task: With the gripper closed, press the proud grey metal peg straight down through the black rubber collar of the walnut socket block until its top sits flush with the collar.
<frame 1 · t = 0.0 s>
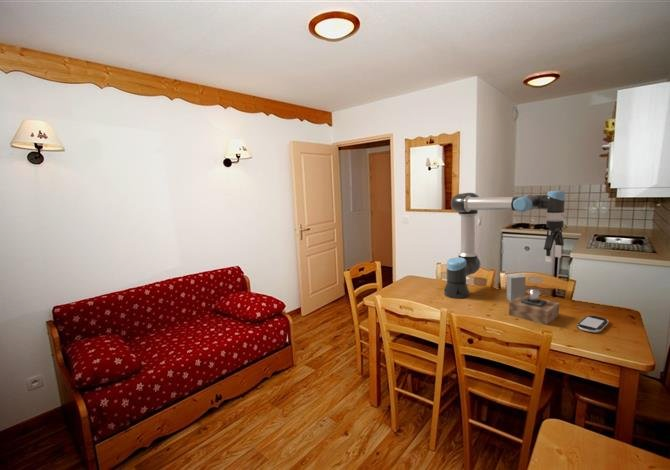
hand: (553, 259, 171), 28 cm above the table, fingers open, 13 cm apart
socket block: (533, 315, 169), on the table
peg: (534, 297, 167), point 10 cm above the table, slide at 6.0 cm
gaming console: (592, 326, 153), on the table
skincare box: (515, 300, 190), on the table
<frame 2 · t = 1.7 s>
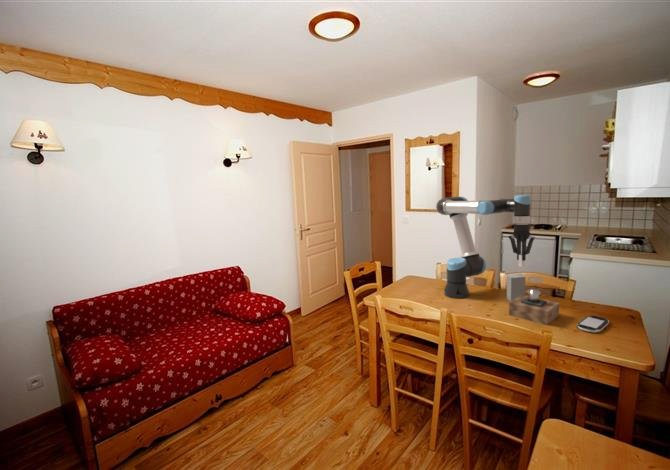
hand: (521, 266, 175), 24 cm above the table, fingers closed
nothing on the table moved.
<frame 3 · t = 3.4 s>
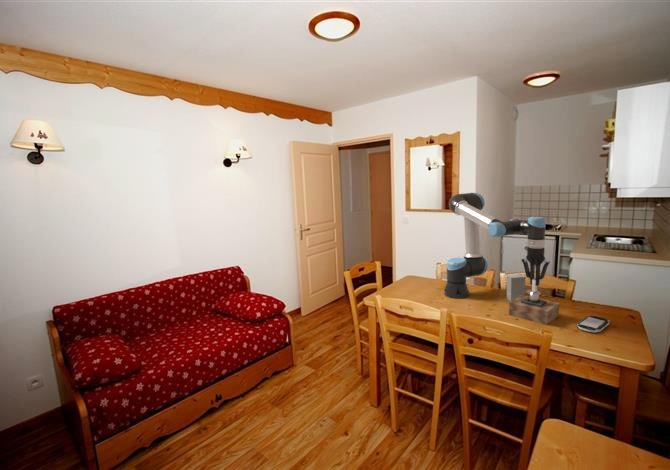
hand: (534, 291, 166), 13 cm above the table, fingers closed
peg: (534, 298, 167), point 9 cm above the table, slide at 5.2 cm, touching gripper
everything else where it was.
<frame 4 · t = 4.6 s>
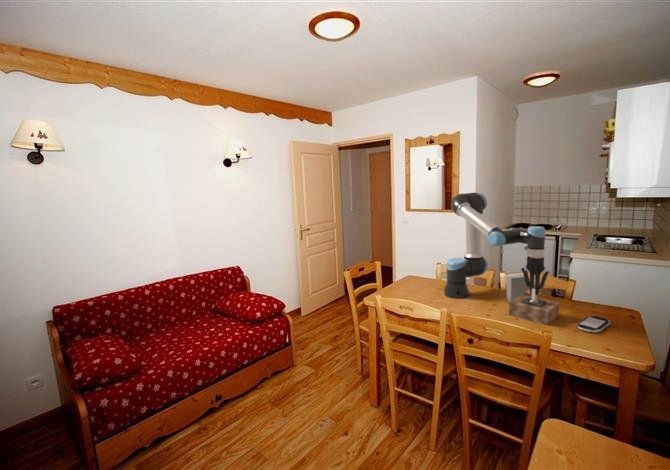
hand: (534, 300, 167), 8 cm above the table, fingers closed
peg: (533, 307, 168), point 4 cm above the table, slide at 0.2 cm, touching gripper
everything else where it was.
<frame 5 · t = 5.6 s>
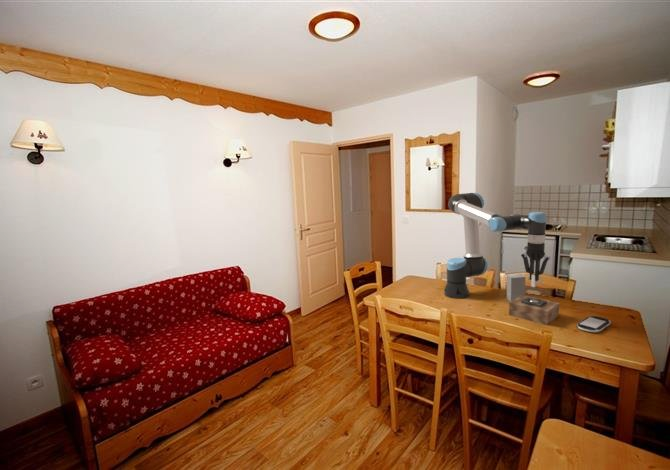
hand: (533, 286, 167), 16 cm above the table, fingers closed
peg: (533, 307, 168), point 4 cm above the table, slide at 0.2 cm
everything else where it was.
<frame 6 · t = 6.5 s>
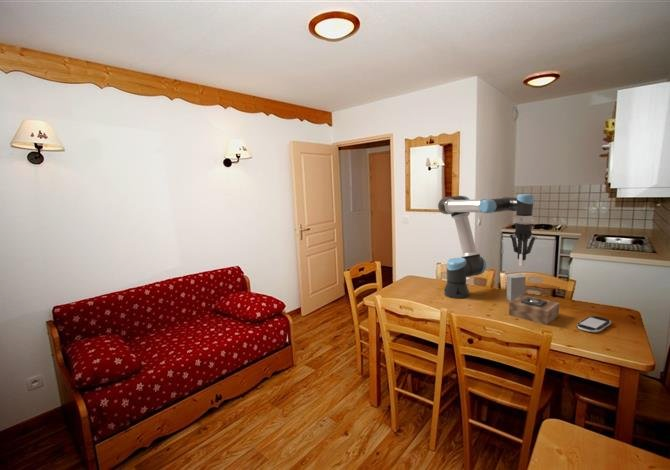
hand: (521, 265, 175), 25 cm above the table, fingers closed
nothing on the table moved.
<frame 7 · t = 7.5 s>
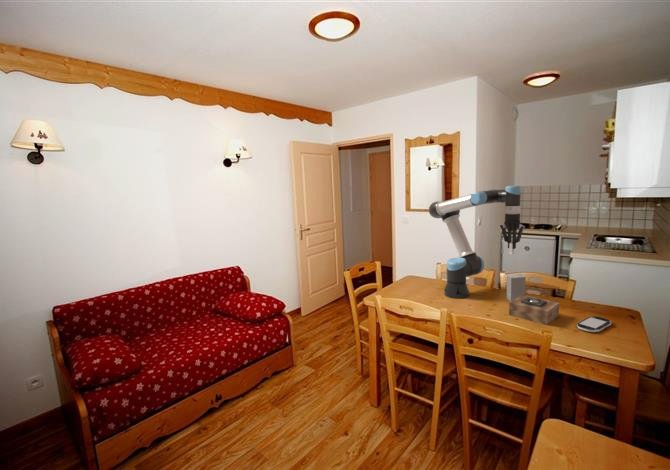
hand: (511, 254, 183), 29 cm above the table, fingers closed
nothing on the table moved.
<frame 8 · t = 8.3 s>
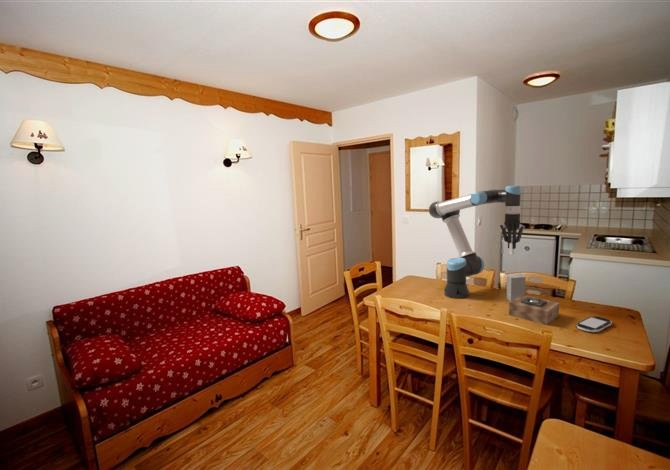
hand: (511, 254, 183), 29 cm above the table, fingers closed
nothing on the table moved.
at the end: peg slide at 0.2 cm; peg touching nothing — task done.
